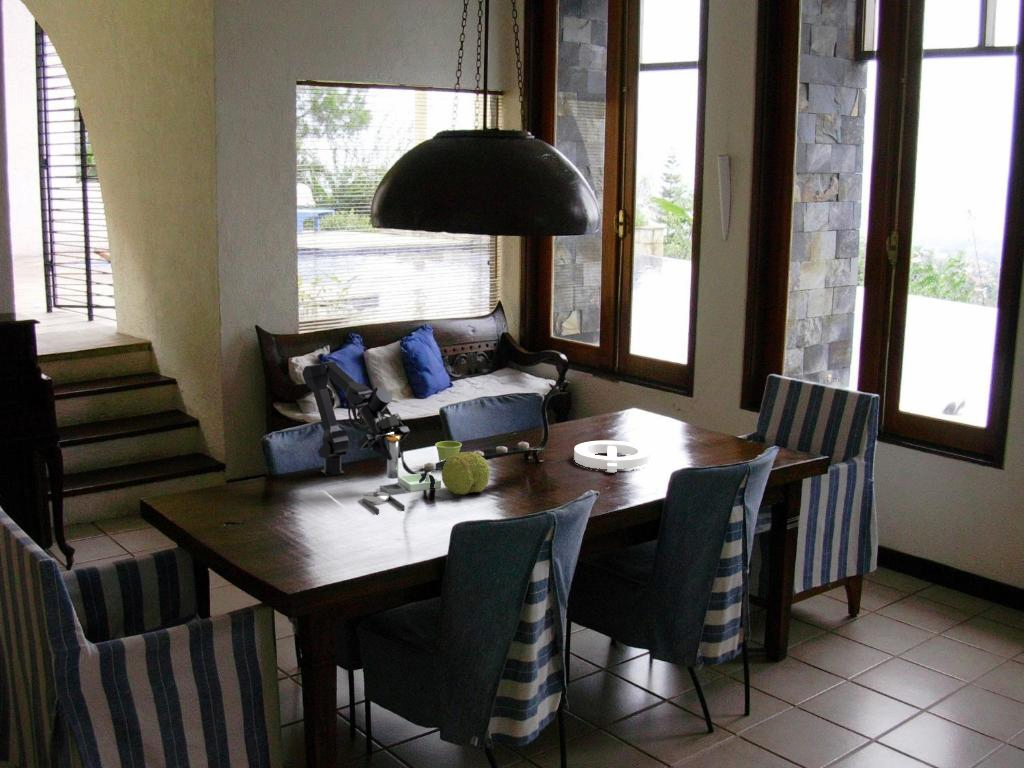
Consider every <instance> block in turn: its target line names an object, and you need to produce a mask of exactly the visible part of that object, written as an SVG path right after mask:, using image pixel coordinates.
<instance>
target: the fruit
mask: <svg viewBox="0 0 1024 768" xmlns="http://www.w3.org/2000/svg"><path fill="white" fill-rule="evenodd" d="M490 473H491V469H490V466H489V464H488V461H487V460H486V458H484V457H483V456H481V455H480V454H479V453H475V452H471V451H466V452H465V451H461V452H459V453H457V454H454V455H452V456H450V457H449V458H448V459H447V460H446V462H445V464H444V466H443V469H442V470H441V482H443V484H444V487H445V488H447V490H448V491H450V492H452V493H453V494H455V495H467V494H470V493H471V494H472V493H478V492H482V491H484V489H486V486H487V485H488V484H489V480H490Z"/></svg>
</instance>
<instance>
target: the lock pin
mask: <svg viewBox="0 0 1024 768" xmlns="http://www.w3.org/2000/svg"><path fill="white" fill-rule="evenodd" d="M398 440H400V435H397V434H389V435H386V440H385V441H387V445H386V447H387V449H388V451H389V453H390V455H391V457H392V460H388V459H387V458H386V460H387V465H386V466H387V467H386V470H387V473H386V474H387V476H386V477H387V478H388V479H392V480H393V479H398V476H399V458H398Z"/></svg>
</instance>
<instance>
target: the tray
mask: <svg viewBox="0 0 1024 768" xmlns="http://www.w3.org/2000/svg"><path fill="white" fill-rule="evenodd" d="M432 476H433V477H434V479H435V484H434V488H435V489H441V488H442V480H440V479H438V478H437V477H435V476H434V475H432ZM420 479H421V474H420V473H415V474H413V473H412V474H405V475H398V478H397V484H399V485H401V486H402V487H404V488H405V489H406V490H407V491H409V492H410V493H414V492H421V491H429V490H430V489H429V488H430V483H431V482H429V475H427V477H426V480H425V482H424V483H419V480H420ZM435 489H434V490H435Z"/></svg>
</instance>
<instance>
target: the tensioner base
mask: <svg viewBox="0 0 1024 768" xmlns="http://www.w3.org/2000/svg"><path fill="white" fill-rule="evenodd" d="M375 490H376V492H384V493H387V494H389V495H390V496H391V497H392V496H396V495H398V496H399V495H403V494H411V492H410V491H409V490H407V489H406V488H404V487H403V486H401V485H400V484H398V483H392V484H385V485H379V488H375Z"/></svg>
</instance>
